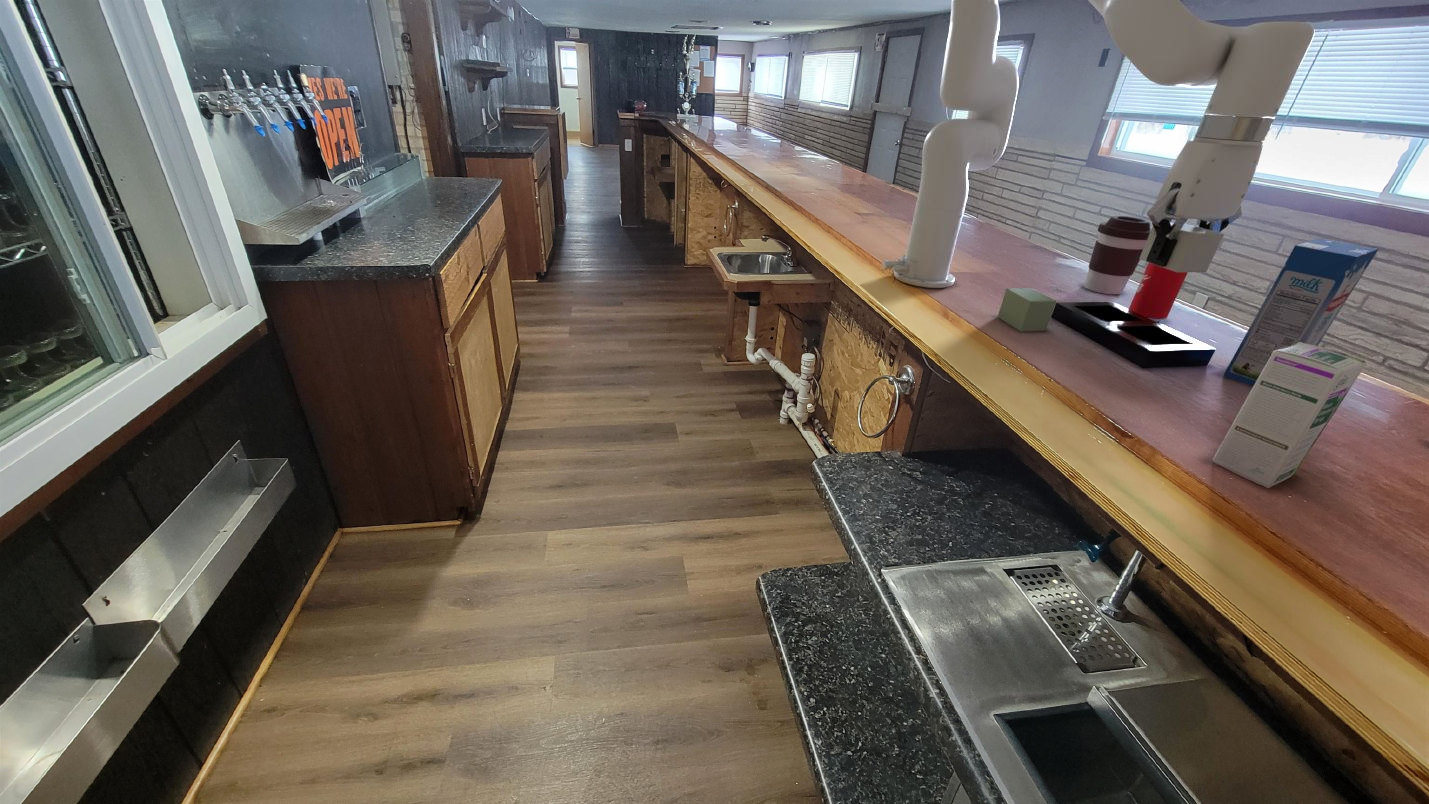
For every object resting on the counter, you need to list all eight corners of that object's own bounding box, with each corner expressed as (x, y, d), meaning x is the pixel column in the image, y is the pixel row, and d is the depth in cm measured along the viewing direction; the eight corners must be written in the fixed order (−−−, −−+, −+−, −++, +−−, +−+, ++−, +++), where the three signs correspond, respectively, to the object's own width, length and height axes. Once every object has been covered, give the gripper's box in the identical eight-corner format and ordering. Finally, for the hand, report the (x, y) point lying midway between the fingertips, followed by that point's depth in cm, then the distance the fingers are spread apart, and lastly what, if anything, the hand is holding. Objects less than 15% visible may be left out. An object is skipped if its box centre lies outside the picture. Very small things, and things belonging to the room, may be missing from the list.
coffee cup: (1133, 290, 123) (1163, 220, 116) (1123, 300, 117) (1155, 227, 109) (1083, 279, 129) (1108, 212, 121) (1071, 288, 122) (1097, 217, 115)
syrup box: (1269, 490, 61) (1349, 371, 54) (1208, 460, 66) (1274, 347, 58) (1293, 476, 64) (1373, 361, 56) (1232, 449, 68) (1299, 339, 61)
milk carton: (1273, 393, 82) (1357, 256, 72) (1222, 375, 86) (1295, 245, 76) (1297, 378, 87) (1379, 248, 77) (1248, 362, 91) (1319, 238, 81)
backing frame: (1142, 368, 88) (1150, 351, 86) (1050, 317, 106) (1056, 302, 105) (1207, 366, 89) (1216, 348, 88) (1105, 316, 108) (1111, 301, 106)
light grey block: (1176, 272, 82) (1194, 233, 79) (1138, 259, 88) (1154, 222, 85) (1206, 272, 83) (1224, 233, 80) (1166, 259, 89) (1182, 222, 86)
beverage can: (1153, 312, 111) (1181, 251, 105) (1172, 324, 105) (1202, 260, 100) (1120, 310, 111) (1145, 249, 105) (1137, 321, 106) (1165, 258, 100)
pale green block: (1020, 331, 99) (1030, 301, 96) (997, 317, 105) (1006, 288, 102) (1045, 331, 100) (1056, 300, 97) (1021, 316, 106) (1031, 287, 103)
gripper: (1257, 131, 81) (1198, 257, 90) (1154, 127, 78) (1104, 257, 87) (1312, 136, 75) (1243, 271, 84) (1202, 132, 72) (1142, 271, 81)
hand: (1172, 262), depth 85 cm, fingers closed on light grey block, 5 cm apart
